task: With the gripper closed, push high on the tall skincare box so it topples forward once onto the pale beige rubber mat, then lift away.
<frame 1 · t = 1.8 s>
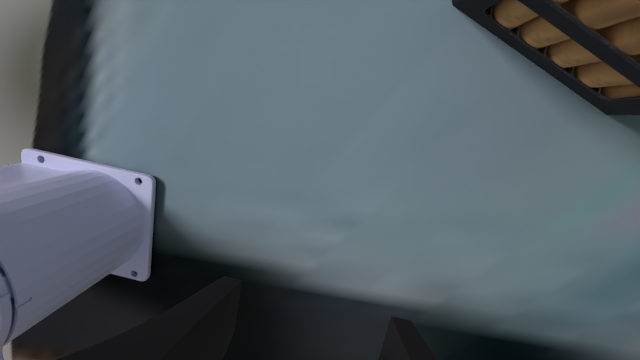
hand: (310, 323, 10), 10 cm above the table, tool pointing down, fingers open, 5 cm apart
ammunition clip: (540, 45, 17), on the table
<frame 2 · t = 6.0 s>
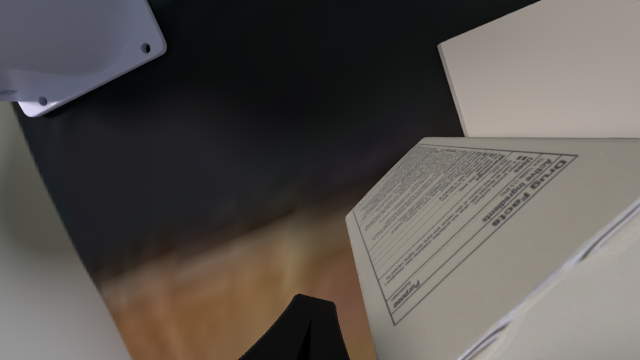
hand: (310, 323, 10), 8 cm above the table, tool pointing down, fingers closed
skincare box: (412, 200, 17), on the table, touching gripper
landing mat: (598, 138, 15), on the table
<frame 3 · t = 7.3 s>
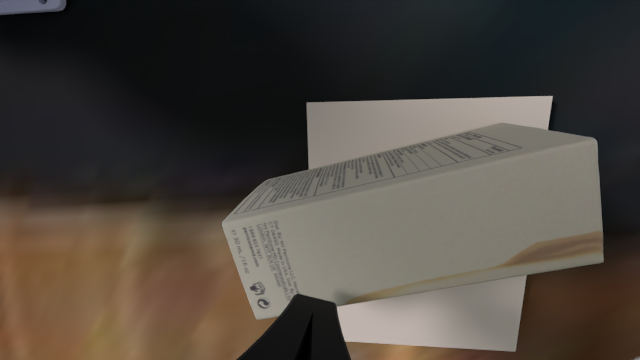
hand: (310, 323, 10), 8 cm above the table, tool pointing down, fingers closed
skincare box: (256, 238, 14), point 4 cm above the table, touching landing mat
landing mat: (415, 230, 17), on the table
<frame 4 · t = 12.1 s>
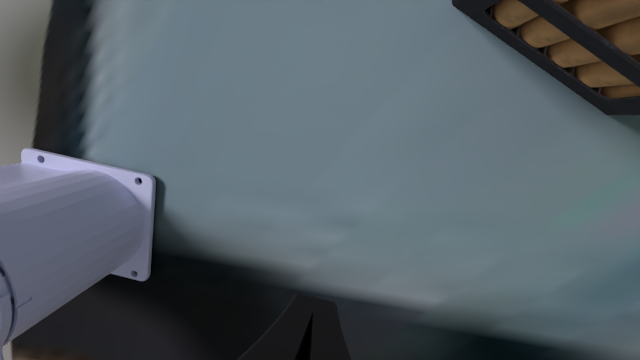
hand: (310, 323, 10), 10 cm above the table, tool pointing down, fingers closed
ammunition clip: (540, 45, 17), on the table
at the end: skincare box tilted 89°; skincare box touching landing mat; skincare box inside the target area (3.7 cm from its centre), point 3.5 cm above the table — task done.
